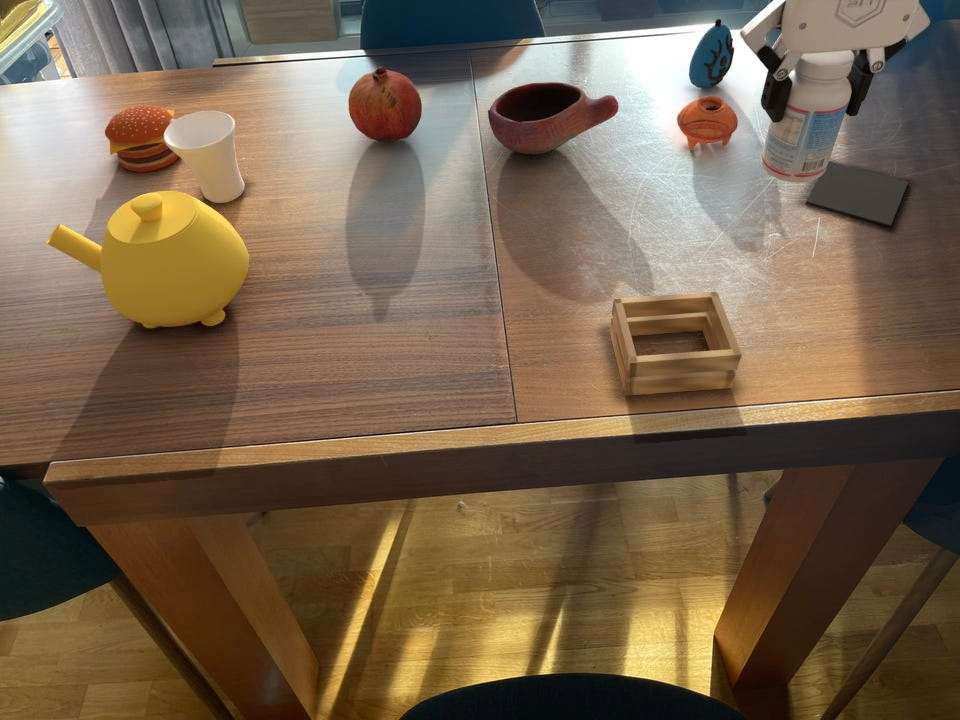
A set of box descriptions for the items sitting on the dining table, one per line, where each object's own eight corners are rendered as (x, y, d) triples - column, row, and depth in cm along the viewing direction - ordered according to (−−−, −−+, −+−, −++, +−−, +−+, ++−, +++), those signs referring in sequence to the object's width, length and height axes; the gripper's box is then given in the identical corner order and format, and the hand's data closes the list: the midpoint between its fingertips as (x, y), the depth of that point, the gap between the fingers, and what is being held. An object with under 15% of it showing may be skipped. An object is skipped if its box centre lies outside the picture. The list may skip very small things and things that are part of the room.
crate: (707, 325, 79) (717, 290, 75) (731, 388, 73) (742, 354, 69) (609, 332, 79) (613, 298, 75) (624, 396, 73) (630, 362, 69)
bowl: (504, 178, 98) (503, 124, 92) (480, 129, 107) (478, 76, 101) (617, 156, 100) (623, 102, 95) (585, 110, 109) (589, 58, 103)
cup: (220, 166, 103) (196, 101, 96) (269, 184, 100) (249, 118, 92) (173, 200, 99) (144, 134, 91) (223, 220, 95) (198, 153, 88)
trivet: (907, 183, 94) (908, 181, 93) (890, 227, 88) (891, 225, 88) (826, 162, 97) (827, 160, 97) (805, 203, 92) (805, 201, 92)
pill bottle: (823, 152, 72) (861, 39, 64) (826, 188, 69) (867, 73, 60) (759, 146, 74) (788, 35, 65) (758, 181, 70) (789, 67, 61)
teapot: (63, 351, 81) (-4, 255, 71) (109, 258, 91) (56, 162, 81) (243, 344, 80) (201, 246, 70) (269, 251, 91) (236, 154, 80)
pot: (737, 126, 103) (747, 88, 97) (725, 168, 100) (736, 131, 94) (680, 116, 105) (687, 78, 99) (667, 156, 102) (673, 119, 96)
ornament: (702, 101, 109) (715, 34, 102) (677, 90, 111) (688, 24, 104) (736, 80, 112) (751, 14, 105) (710, 70, 115) (723, 5, 107)
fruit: (435, 144, 105) (428, 77, 97) (370, 164, 102) (357, 97, 95) (408, 110, 111) (399, 45, 104) (345, 128, 109) (332, 62, 101)
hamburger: (118, 145, 108) (98, 104, 104) (184, 132, 110) (168, 90, 105) (118, 180, 102) (97, 137, 97) (188, 165, 104) (171, 122, 99)
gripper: (778, -89, 51) (726, 142, 64) (1025, -109, 51) (922, 125, 64) (744, -122, 56) (702, 98, 69) (969, -140, 56) (884, 83, 69)
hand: (809, 109), depth 67 cm, fingers closed on pill bottle, 6 cm apart
